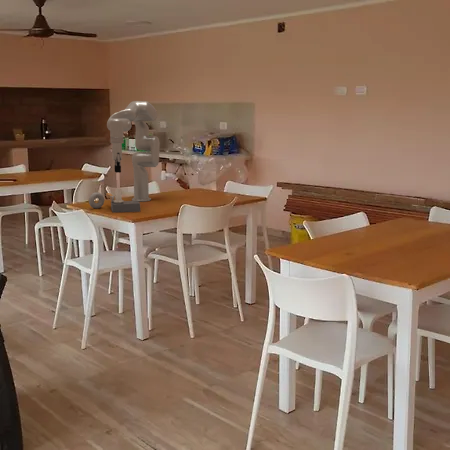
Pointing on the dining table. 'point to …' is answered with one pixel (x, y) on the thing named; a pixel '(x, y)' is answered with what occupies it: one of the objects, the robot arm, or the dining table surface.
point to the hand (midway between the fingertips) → (117, 171)
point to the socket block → (125, 206)
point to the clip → (110, 196)
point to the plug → (118, 196)
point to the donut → (92, 198)
